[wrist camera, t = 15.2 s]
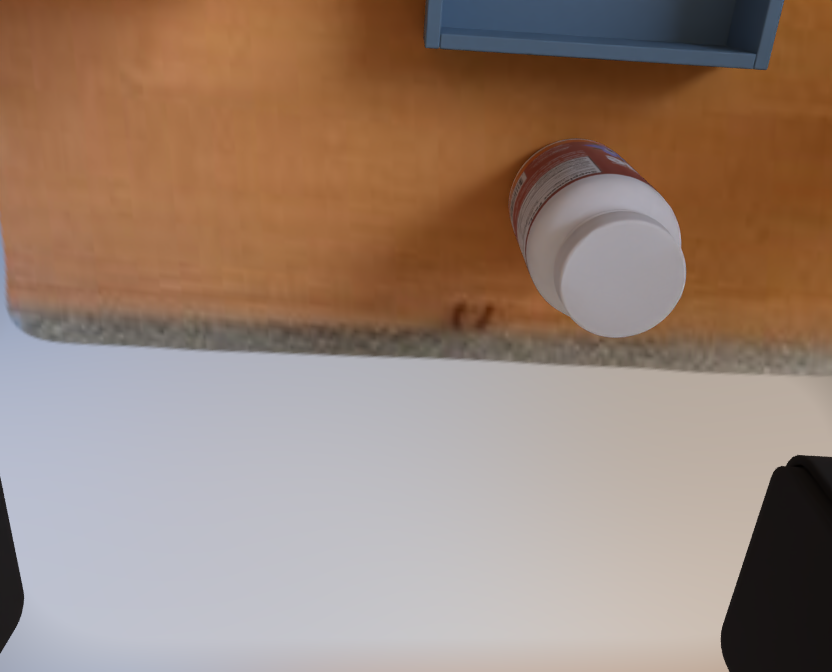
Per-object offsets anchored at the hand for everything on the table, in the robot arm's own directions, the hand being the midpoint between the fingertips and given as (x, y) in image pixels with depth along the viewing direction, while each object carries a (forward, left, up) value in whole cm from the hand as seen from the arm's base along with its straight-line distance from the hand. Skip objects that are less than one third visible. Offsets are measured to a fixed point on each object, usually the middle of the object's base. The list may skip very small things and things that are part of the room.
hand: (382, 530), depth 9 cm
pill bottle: (-9, -1, -30) cm, 32 cm away
